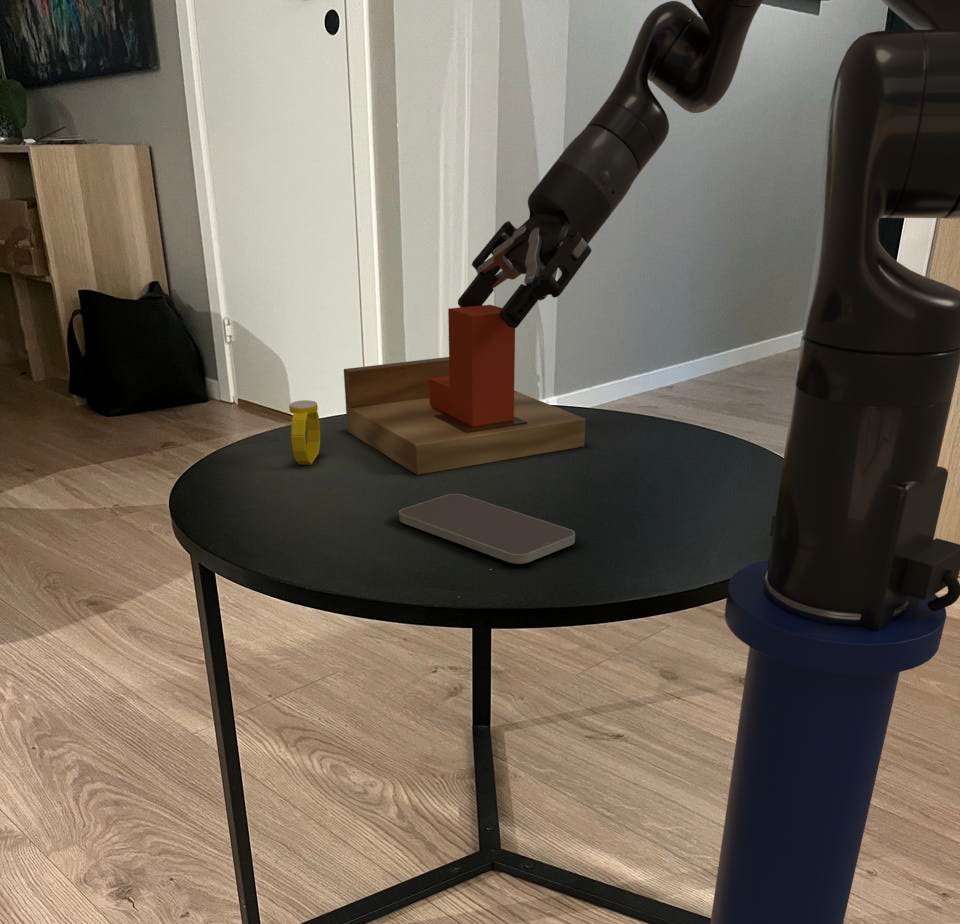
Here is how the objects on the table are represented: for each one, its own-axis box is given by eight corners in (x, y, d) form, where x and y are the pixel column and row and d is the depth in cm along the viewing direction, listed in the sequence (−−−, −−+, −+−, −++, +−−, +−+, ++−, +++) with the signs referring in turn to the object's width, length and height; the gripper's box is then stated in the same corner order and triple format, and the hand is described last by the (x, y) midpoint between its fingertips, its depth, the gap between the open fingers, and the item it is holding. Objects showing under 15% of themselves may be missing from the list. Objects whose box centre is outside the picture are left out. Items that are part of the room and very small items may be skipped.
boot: (514, 420, 103) (515, 311, 98) (472, 427, 101) (471, 315, 96) (468, 400, 111) (467, 298, 106) (428, 405, 109) (426, 301, 104)
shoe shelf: (584, 446, 106) (587, 380, 103) (417, 475, 97) (414, 404, 94) (500, 409, 120) (500, 350, 117) (347, 431, 111) (343, 368, 108)
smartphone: (455, 491, 90) (581, 532, 80) (455, 501, 90) (580, 543, 81) (393, 511, 85) (518, 557, 76) (393, 521, 86) (518, 568, 76)
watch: (303, 451, 104) (298, 395, 102) (328, 452, 104) (324, 396, 101) (287, 469, 99) (281, 410, 96) (313, 470, 99) (309, 411, 96)
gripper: (646, 220, 96) (543, 352, 96) (564, 211, 107) (473, 329, 107) (605, 161, 91) (497, 300, 91) (524, 157, 102) (428, 281, 103)
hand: (484, 316), depth 99 cm, fingers open, 8 cm apart
